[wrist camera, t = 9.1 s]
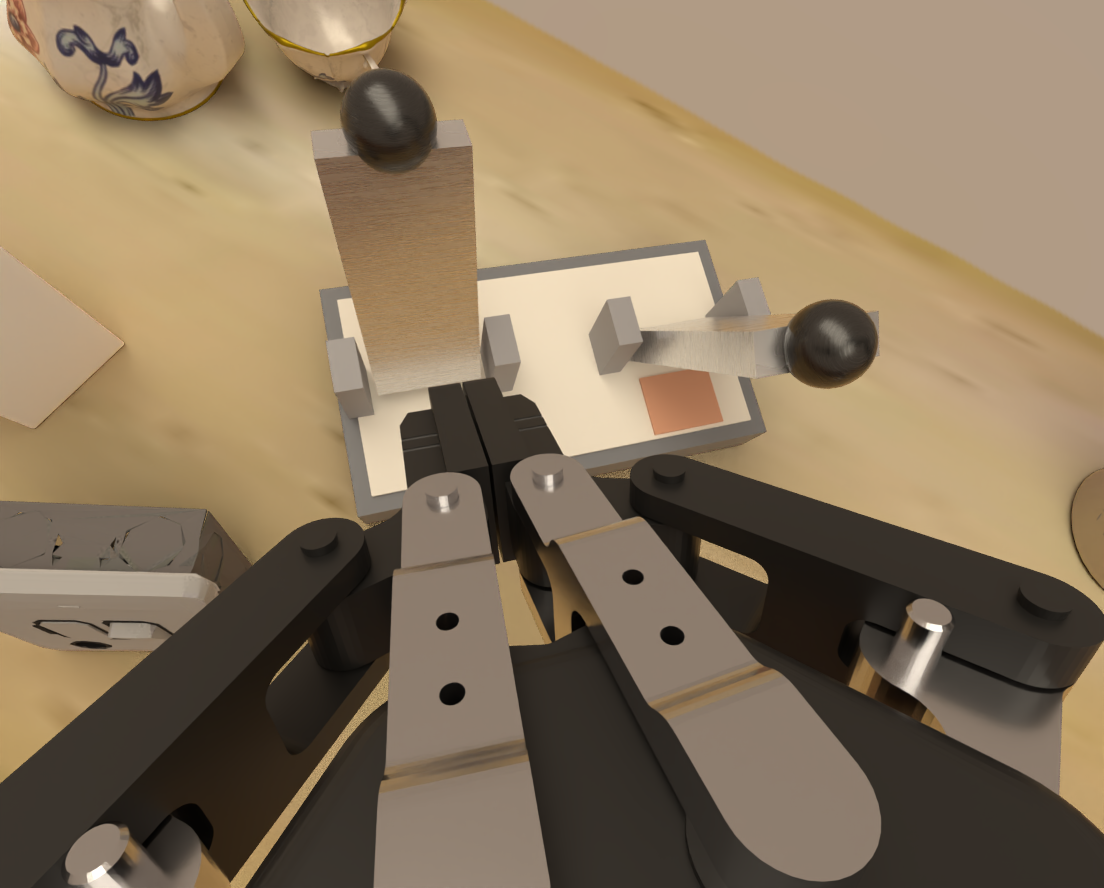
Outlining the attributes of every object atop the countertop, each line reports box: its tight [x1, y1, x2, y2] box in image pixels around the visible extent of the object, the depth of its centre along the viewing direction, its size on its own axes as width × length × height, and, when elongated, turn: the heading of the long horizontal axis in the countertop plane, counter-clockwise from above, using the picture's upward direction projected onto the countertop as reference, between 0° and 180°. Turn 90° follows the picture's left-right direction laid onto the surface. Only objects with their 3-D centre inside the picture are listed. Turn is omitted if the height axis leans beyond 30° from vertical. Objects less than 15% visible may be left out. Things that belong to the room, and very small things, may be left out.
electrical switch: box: [0, 501, 252, 651], centre depth 25 cm, size 9×5×9 cm, turn 88°
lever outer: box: [311, 68, 481, 395], centre depth 24 cm, size 5×3×14 cm, turn 103°
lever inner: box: [629, 299, 879, 389], centre depth 26 cm, size 5×3×14 cm, turn 103°
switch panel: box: [319, 240, 771, 524], centre depth 31 cm, size 22×12×7 cm, turn 103°
